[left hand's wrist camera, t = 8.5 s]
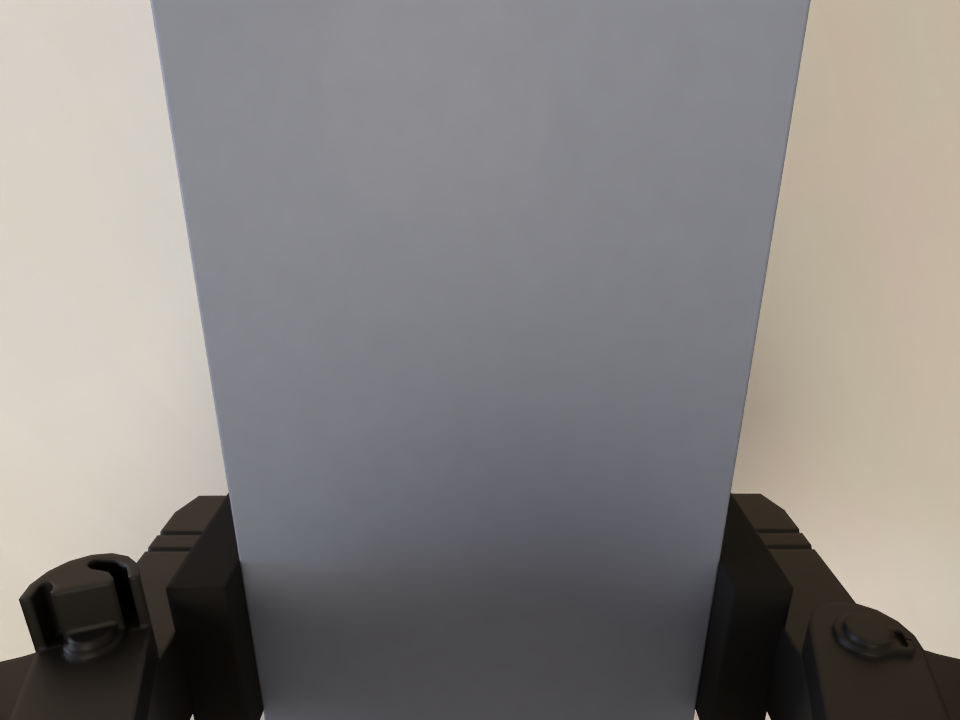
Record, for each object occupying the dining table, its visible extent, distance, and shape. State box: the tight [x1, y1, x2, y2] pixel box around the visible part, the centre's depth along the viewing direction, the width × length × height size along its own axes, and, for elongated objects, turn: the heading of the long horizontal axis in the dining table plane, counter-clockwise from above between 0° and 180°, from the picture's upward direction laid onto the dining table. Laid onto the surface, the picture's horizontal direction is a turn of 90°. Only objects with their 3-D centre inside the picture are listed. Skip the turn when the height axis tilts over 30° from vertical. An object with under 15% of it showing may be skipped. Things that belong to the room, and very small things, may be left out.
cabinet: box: [151, 0, 810, 720], centre depth 12 cm, size 18×6×10 cm, turn 0°
